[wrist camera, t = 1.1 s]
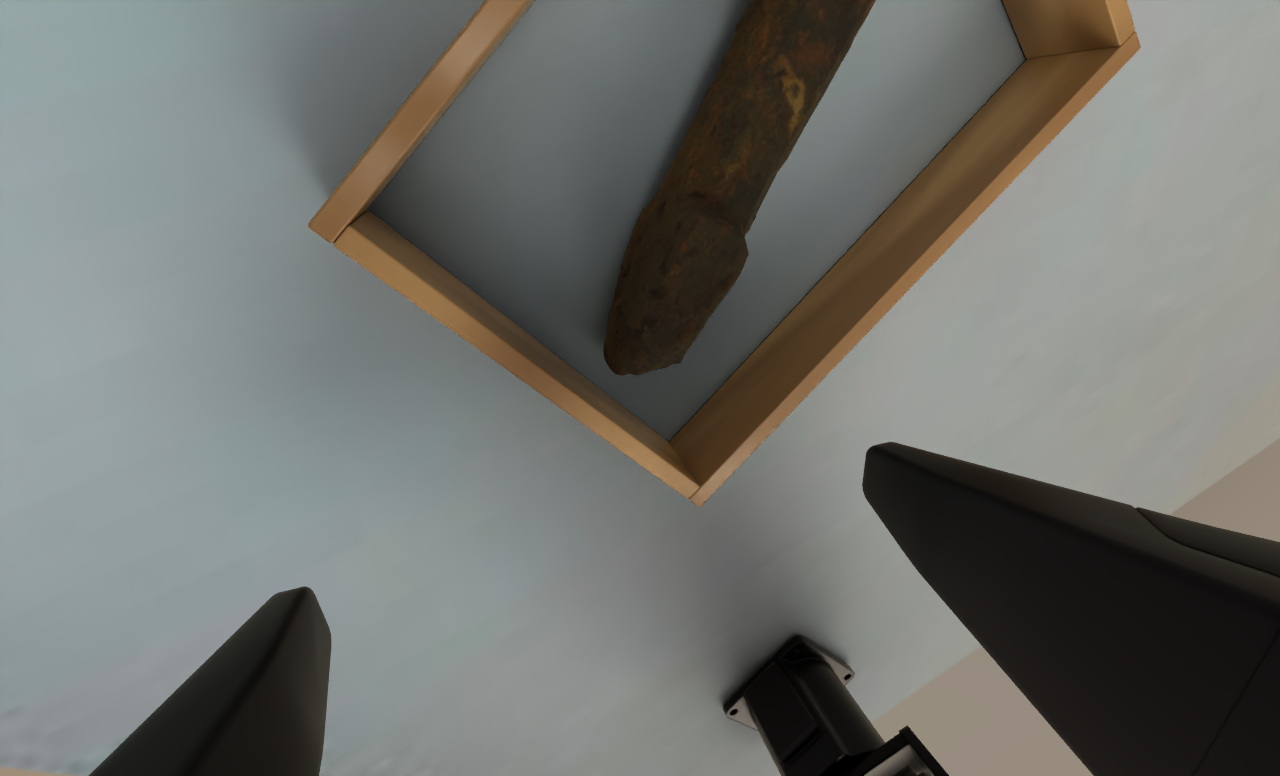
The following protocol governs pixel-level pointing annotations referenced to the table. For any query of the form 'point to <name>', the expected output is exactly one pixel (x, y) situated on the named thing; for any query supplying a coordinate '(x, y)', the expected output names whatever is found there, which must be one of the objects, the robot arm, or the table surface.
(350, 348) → the table surface
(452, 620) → the table surface
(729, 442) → the wooden rectangular frame
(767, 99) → the dark brown long piece
